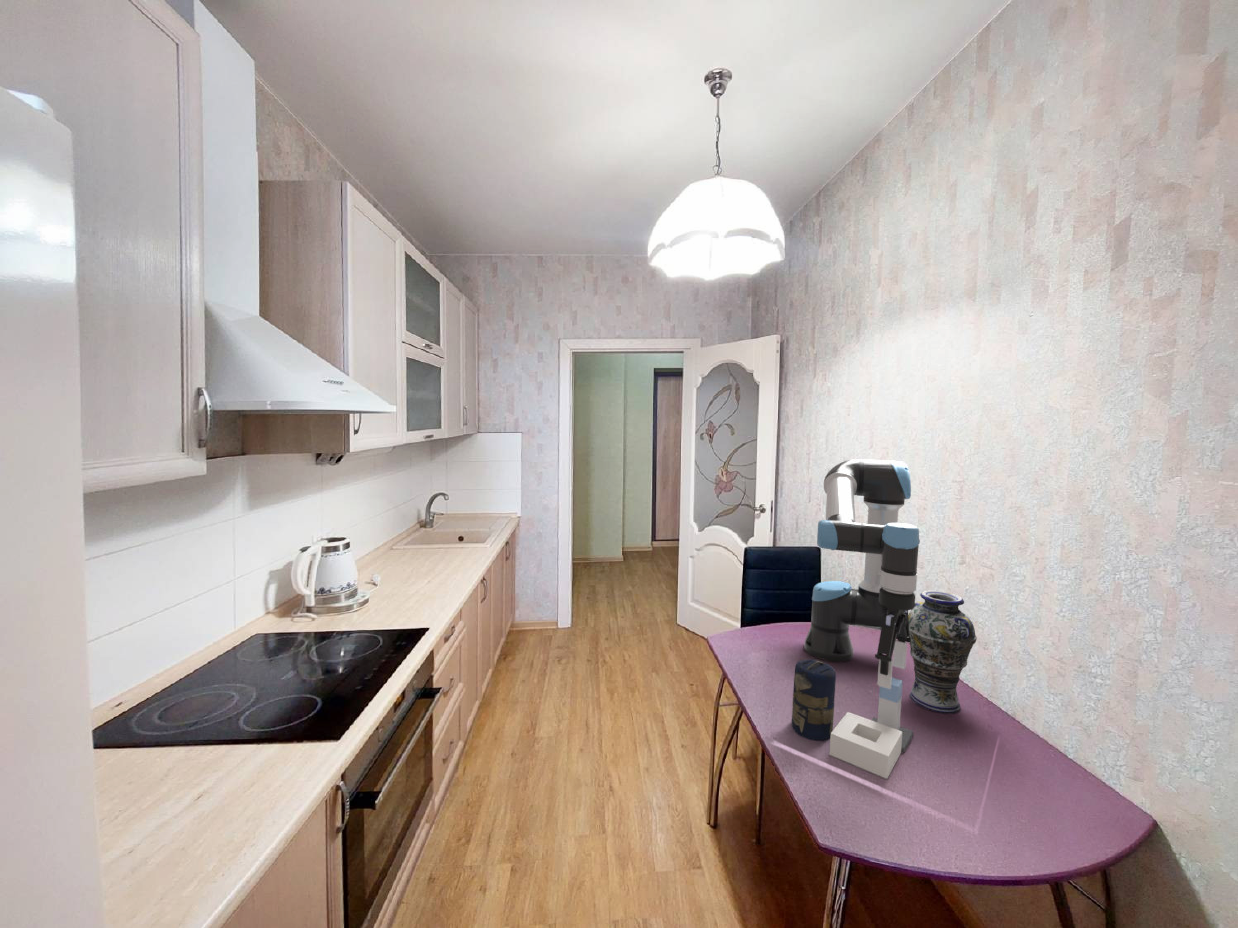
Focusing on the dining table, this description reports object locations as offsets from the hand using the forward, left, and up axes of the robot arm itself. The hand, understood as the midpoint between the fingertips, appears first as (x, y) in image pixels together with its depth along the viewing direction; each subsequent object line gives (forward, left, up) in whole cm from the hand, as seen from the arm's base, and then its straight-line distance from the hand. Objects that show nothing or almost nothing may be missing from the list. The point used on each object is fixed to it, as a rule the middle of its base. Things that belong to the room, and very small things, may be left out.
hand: (891, 676), depth 125 cm
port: (+11, -2, -16) cm, 19 cm away
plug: (0, 0, -15) cm, 15 cm away
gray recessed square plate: (0, 0, -16) cm, 16 cm away
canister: (+9, -15, -16) cm, 24 cm away
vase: (-28, +5, -16) cm, 33 cm away
